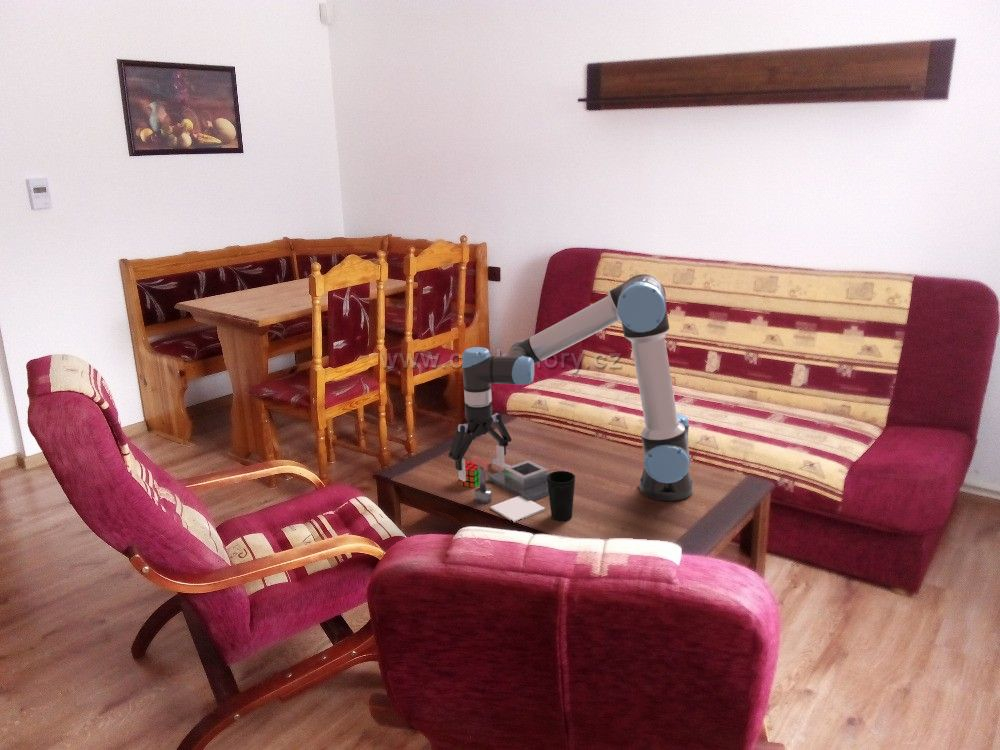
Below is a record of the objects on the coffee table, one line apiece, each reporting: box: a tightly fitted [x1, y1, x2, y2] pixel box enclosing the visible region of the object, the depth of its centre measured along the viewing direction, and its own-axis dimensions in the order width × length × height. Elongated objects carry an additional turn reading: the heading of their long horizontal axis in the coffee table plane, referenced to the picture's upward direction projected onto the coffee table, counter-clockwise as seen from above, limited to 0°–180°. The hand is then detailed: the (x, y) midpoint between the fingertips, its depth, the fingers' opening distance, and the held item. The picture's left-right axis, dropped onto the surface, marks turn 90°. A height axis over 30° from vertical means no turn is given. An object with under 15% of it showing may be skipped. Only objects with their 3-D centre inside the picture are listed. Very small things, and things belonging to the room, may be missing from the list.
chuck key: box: [470, 454, 493, 505], centre depth 220 cm, size 8×5×13 cm, turn 37°
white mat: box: [490, 496, 546, 523], centre depth 216 cm, size 11×11×1 cm
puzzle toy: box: [457, 460, 480, 489], centre depth 233 cm, size 6×6×6 cm
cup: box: [547, 470, 576, 523], centre depth 209 cm, size 8×8×12 cm
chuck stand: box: [487, 457, 549, 502], centre depth 233 cm, size 26×14×5 cm, turn 37°
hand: (482, 473), depth 219 cm, fingers open, 13 cm apart
